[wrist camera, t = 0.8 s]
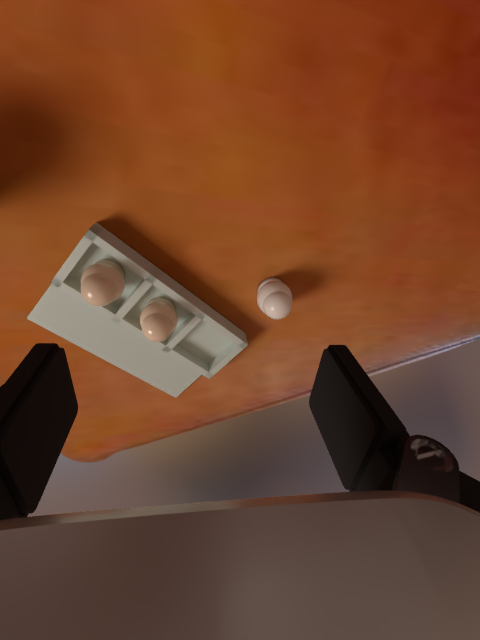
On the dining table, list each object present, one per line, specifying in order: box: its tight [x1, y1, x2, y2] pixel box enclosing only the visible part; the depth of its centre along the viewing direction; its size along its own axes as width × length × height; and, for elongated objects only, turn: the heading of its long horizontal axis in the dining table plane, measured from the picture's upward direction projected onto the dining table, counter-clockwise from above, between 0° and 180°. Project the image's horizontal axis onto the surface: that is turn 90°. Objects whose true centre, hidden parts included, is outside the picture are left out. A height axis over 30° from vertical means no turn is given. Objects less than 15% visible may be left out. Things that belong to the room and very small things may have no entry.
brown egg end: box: [81, 259, 125, 306], centre depth 36 cm, size 5×5×6 cm
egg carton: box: [27, 222, 248, 398], centre depth 43 cm, size 25×17×3 cm
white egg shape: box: [257, 277, 293, 319], centre depth 41 cm, size 5×5×6 cm
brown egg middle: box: [140, 297, 178, 342], centre depth 39 cm, size 5×5×6 cm
